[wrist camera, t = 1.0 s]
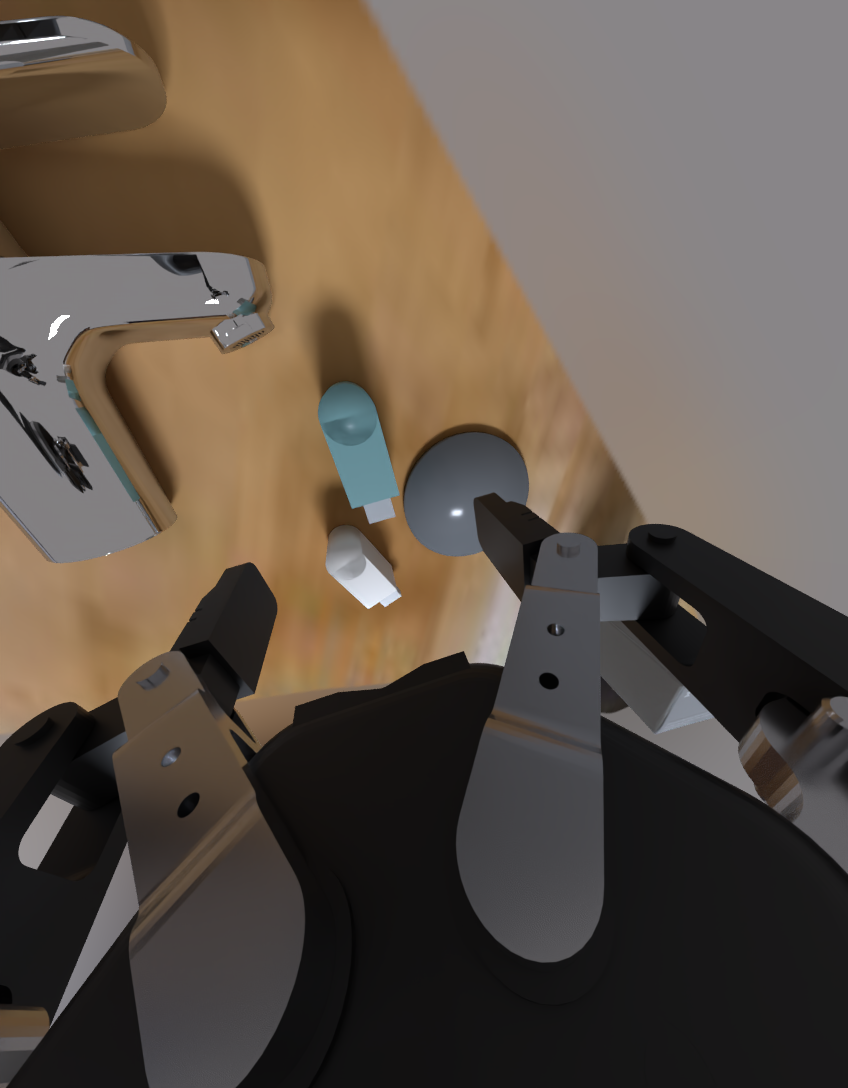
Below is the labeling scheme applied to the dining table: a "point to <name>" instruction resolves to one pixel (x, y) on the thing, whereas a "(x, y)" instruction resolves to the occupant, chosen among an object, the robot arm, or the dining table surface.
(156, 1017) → the robot arm
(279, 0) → the dining table surface
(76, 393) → the chrome faucet
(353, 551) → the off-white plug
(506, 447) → the slate coaster
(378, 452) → the teal plug
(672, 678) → the skincare box
